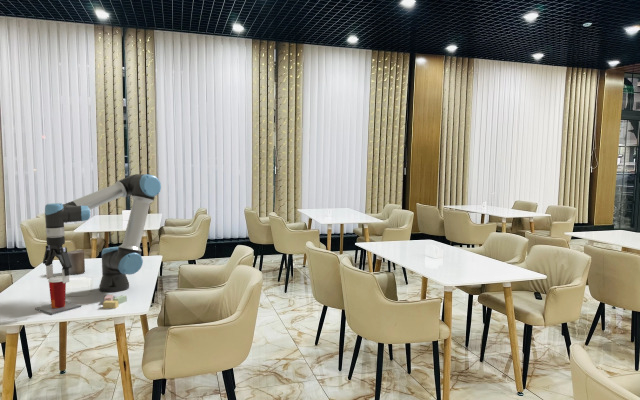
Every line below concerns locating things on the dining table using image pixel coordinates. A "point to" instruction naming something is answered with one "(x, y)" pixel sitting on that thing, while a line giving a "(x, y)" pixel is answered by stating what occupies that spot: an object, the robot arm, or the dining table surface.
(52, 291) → the paper cup
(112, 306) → the ochre brick
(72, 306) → the slate mat
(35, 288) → the dining table surface
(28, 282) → the dining table surface
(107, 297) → the rose brick
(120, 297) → the sage brick
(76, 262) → the pillar candle
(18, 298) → the dining table surface
